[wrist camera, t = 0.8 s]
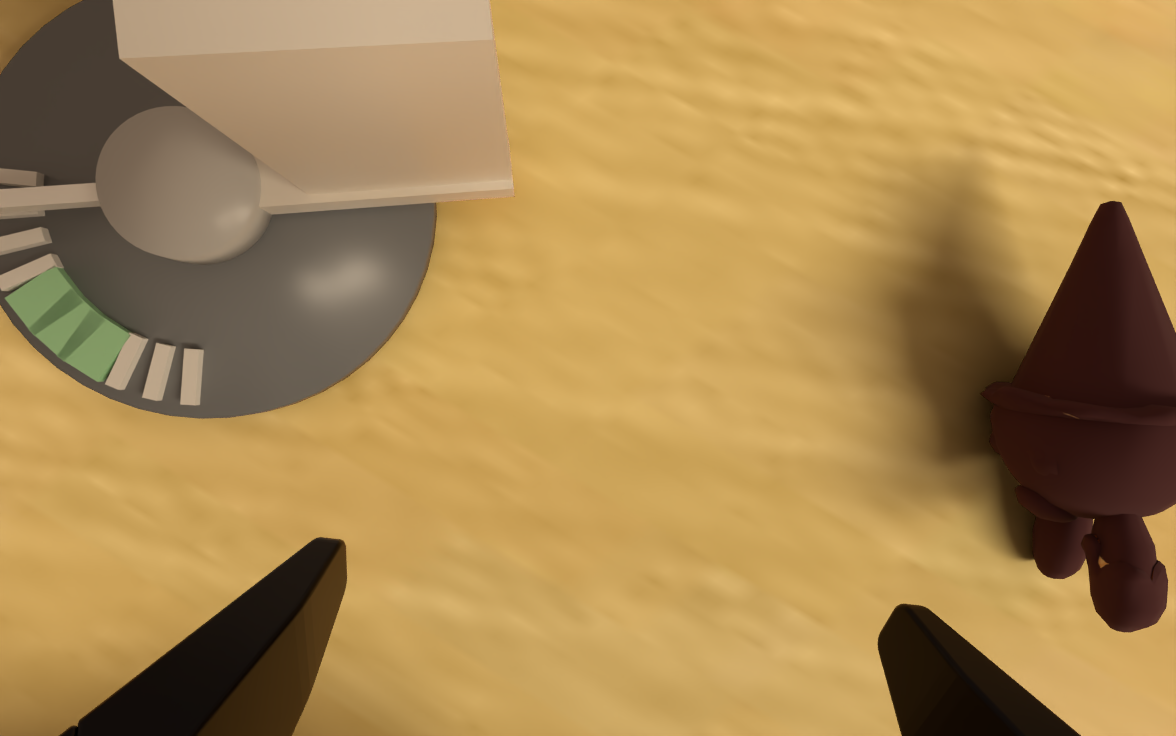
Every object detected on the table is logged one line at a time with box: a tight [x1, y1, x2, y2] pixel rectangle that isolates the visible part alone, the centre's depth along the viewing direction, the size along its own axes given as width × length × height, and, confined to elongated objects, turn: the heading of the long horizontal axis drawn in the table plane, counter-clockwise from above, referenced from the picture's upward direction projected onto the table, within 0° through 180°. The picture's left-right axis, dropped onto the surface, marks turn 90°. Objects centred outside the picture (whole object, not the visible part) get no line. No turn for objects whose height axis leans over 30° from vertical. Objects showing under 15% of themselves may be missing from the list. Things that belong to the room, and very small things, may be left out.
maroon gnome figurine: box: [981, 201, 1176, 632], centre depth 21 cm, size 7×7×15 cm
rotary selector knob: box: [0, 0, 515, 265], centre depth 16 cm, size 18×5×10 cm, turn 95°
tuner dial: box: [0, 0, 437, 418], centre depth 21 cm, size 16×16×1 cm
